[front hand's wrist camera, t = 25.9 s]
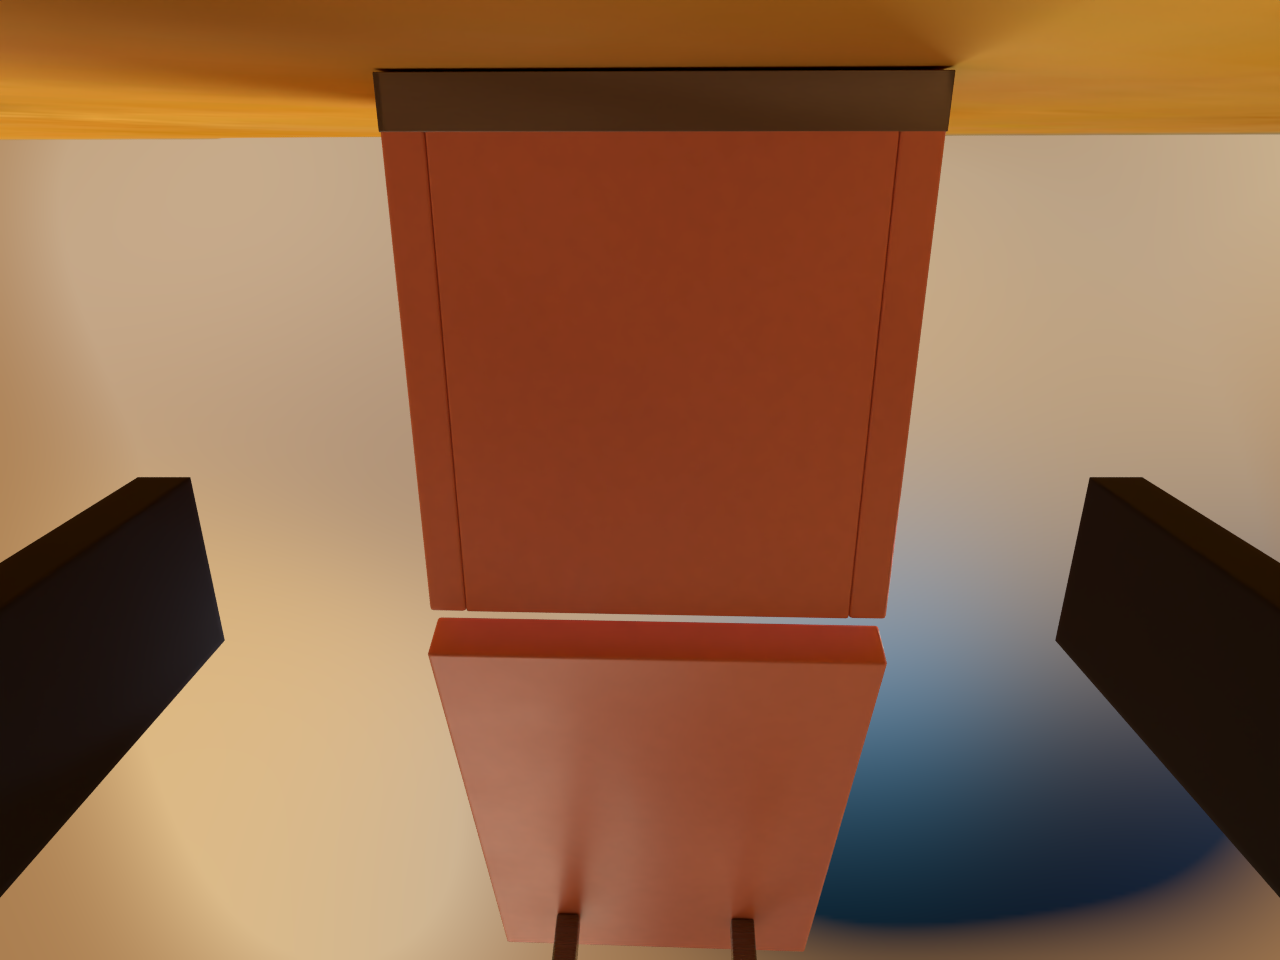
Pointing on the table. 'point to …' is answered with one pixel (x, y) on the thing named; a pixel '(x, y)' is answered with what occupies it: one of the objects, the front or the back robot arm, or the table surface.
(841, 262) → the chest
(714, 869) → the lid
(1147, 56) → the table surface
